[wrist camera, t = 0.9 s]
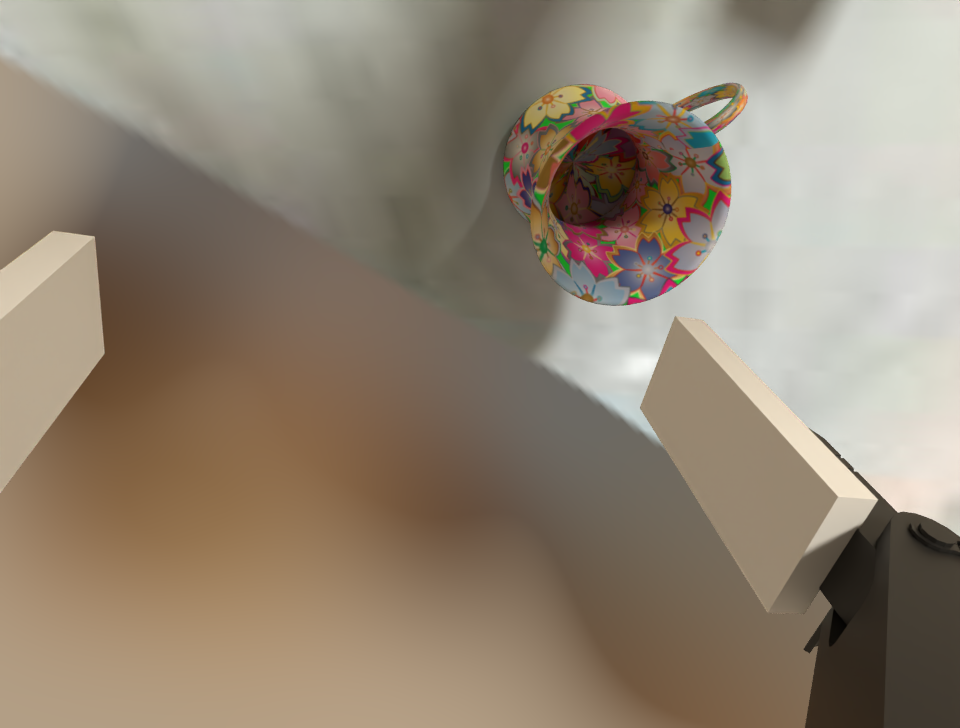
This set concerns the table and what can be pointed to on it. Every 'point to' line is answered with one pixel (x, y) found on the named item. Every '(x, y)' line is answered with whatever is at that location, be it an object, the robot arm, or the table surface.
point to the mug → (621, 188)
